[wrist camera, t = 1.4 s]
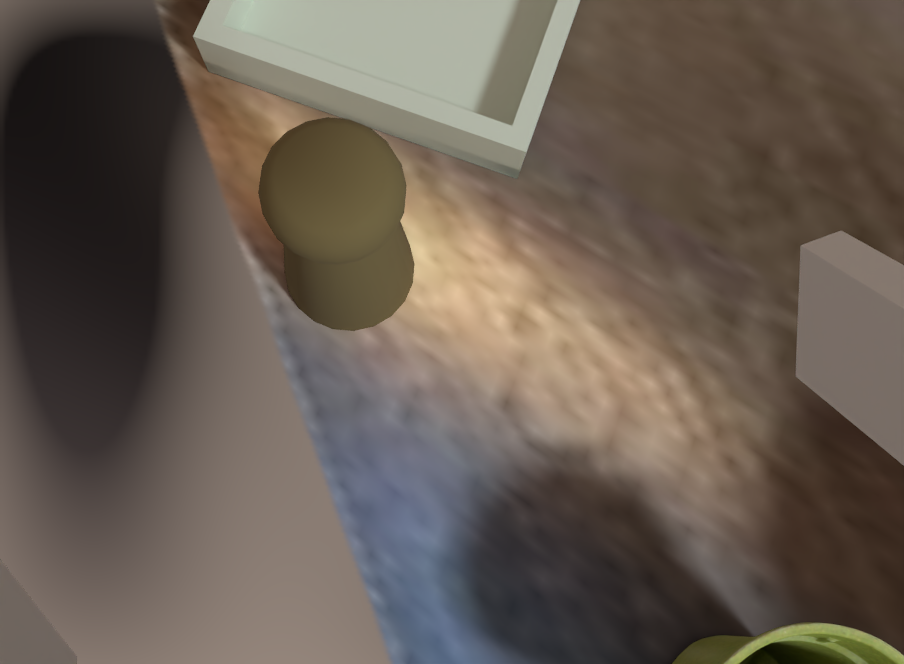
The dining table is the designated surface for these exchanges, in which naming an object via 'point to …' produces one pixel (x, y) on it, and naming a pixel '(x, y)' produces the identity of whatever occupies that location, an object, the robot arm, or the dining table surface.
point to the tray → (402, 65)
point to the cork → (339, 221)
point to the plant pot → (793, 647)
